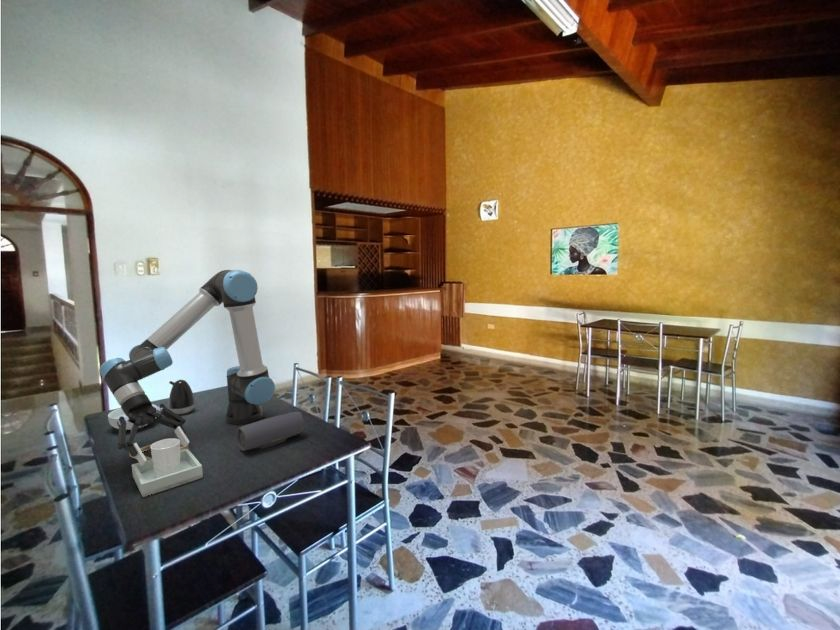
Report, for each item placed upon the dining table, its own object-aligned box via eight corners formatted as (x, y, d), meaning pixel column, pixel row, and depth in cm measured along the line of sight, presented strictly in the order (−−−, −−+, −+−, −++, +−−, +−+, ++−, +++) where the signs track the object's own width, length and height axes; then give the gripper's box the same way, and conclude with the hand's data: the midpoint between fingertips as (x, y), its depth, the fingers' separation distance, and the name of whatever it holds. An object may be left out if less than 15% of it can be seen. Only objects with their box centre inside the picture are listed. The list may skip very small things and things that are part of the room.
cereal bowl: (103, 438, 158) (101, 420, 157) (115, 422, 173) (114, 406, 172) (155, 431, 165) (153, 414, 164) (162, 416, 180) (161, 401, 179)
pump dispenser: (180, 407, 191) (177, 376, 189) (200, 409, 190) (198, 377, 188) (163, 416, 181) (160, 382, 179) (185, 417, 180) (182, 383, 178)
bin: (188, 459, 141) (187, 448, 140) (202, 477, 129) (202, 465, 129) (132, 476, 130) (131, 464, 129) (142, 497, 118) (141, 484, 118)
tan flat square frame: (166, 442, 155) (165, 438, 155) (188, 448, 149) (188, 444, 149) (129, 456, 143) (129, 452, 143) (152, 464, 138) (151, 460, 137)
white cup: (185, 473, 130) (183, 443, 129) (157, 483, 124) (154, 451, 123) (177, 465, 135) (175, 436, 134) (149, 473, 130) (147, 443, 128)
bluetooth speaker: (294, 431, 165) (293, 407, 164) (305, 438, 158) (305, 413, 157) (236, 449, 149) (234, 423, 148) (247, 458, 142) (245, 430, 141)
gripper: (166, 395, 145) (198, 443, 141) (84, 420, 123) (119, 478, 118) (175, 382, 142) (207, 431, 138) (92, 405, 120) (128, 465, 115)
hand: (166, 453), depth 128 cm, fingers open, 13 cm apart
